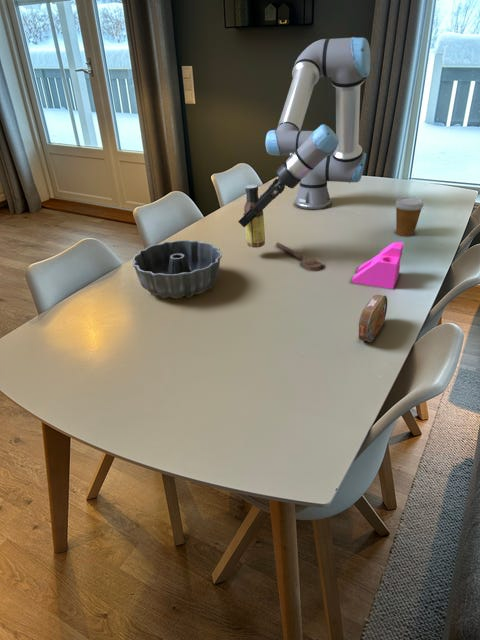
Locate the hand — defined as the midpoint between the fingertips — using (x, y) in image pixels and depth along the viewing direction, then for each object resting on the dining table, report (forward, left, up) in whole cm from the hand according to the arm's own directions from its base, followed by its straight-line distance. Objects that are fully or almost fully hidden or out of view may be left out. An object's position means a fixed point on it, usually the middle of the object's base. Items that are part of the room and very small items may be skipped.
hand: (243, 220), depth 154 cm
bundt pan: (+12, -26, -13) cm, 32 cm away
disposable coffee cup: (+8, +60, -13) cm, 62 cm away
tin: (+58, +11, -13) cm, 61 cm away
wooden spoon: (+10, +15, -13) cm, 22 cm away
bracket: (+34, +29, -13) cm, 46 cm away
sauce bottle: (+2, +3, -9) cm, 9 cm away
